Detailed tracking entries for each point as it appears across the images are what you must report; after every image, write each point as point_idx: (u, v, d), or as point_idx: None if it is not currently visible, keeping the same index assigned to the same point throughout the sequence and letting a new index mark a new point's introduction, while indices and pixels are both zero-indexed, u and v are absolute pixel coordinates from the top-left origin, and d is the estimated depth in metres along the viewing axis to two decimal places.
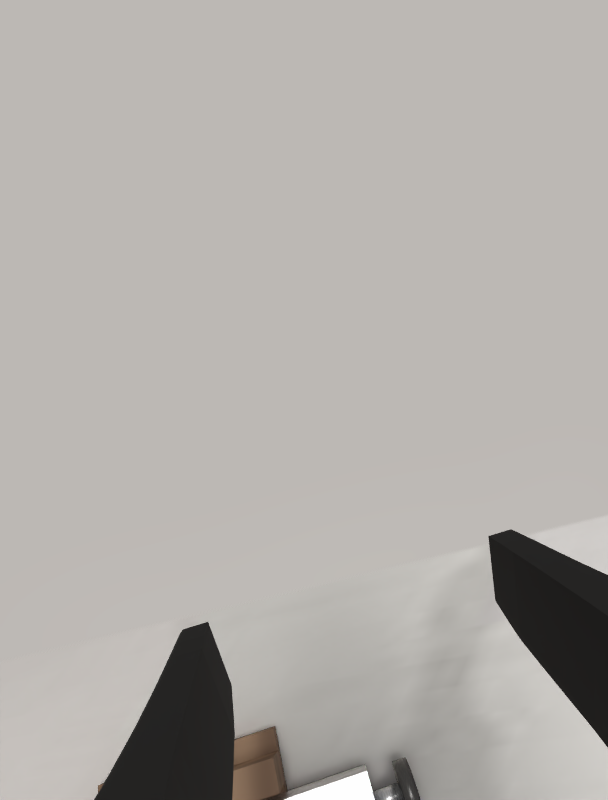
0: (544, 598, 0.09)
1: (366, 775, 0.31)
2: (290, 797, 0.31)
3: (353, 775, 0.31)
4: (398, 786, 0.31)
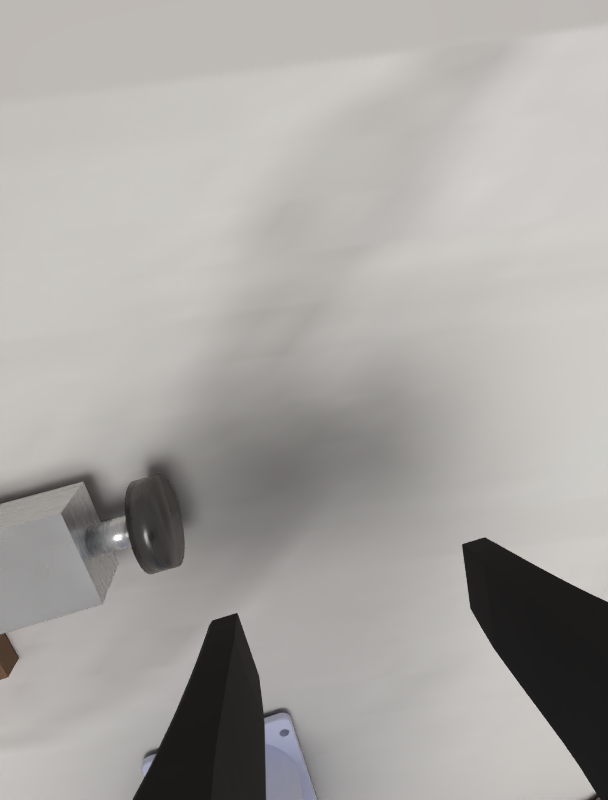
0: (513, 609, 0.09)
1: (59, 519, 0.15)
2: None
3: (32, 519, 0.15)
4: None
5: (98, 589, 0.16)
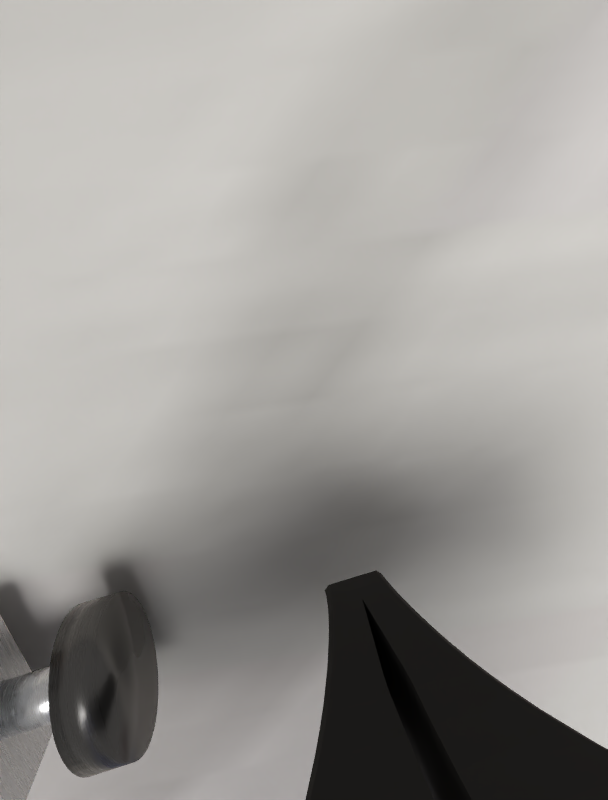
0: (383, 650, 0.09)
1: None
2: None
3: None
4: None
5: (11, 796, 0.10)
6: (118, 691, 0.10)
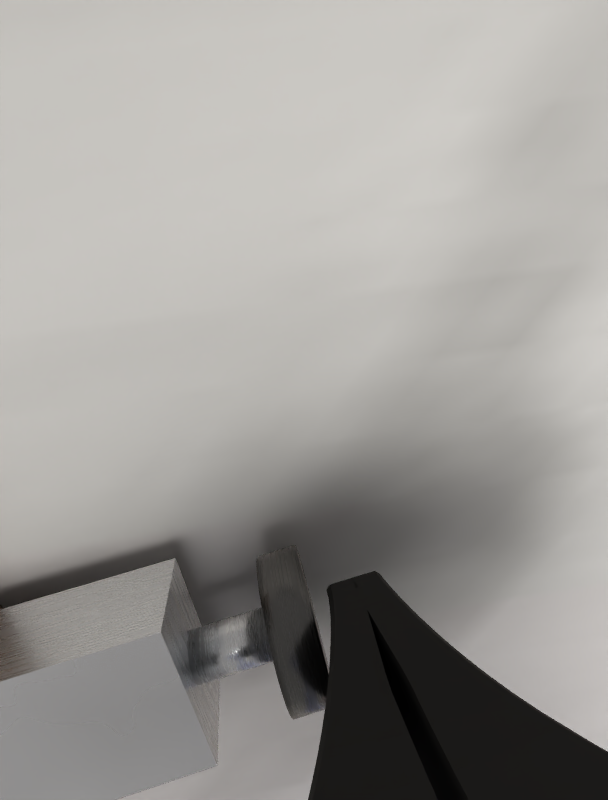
0: (381, 651, 0.09)
1: (158, 643, 0.09)
2: None
3: (111, 643, 0.09)
4: None
5: (210, 741, 0.10)
6: (318, 636, 0.10)
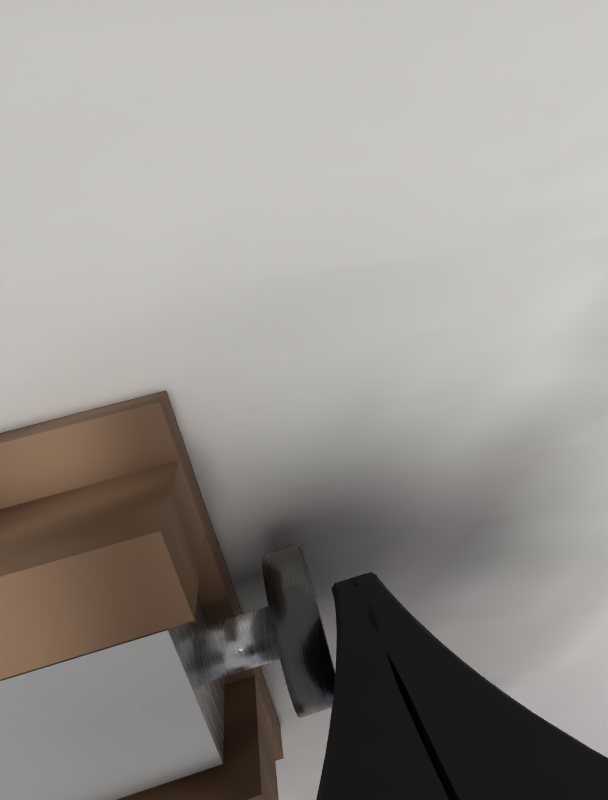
0: None
1: (165, 641, 0.09)
2: None
3: None
4: None
5: (215, 739, 0.10)
6: (324, 634, 0.10)
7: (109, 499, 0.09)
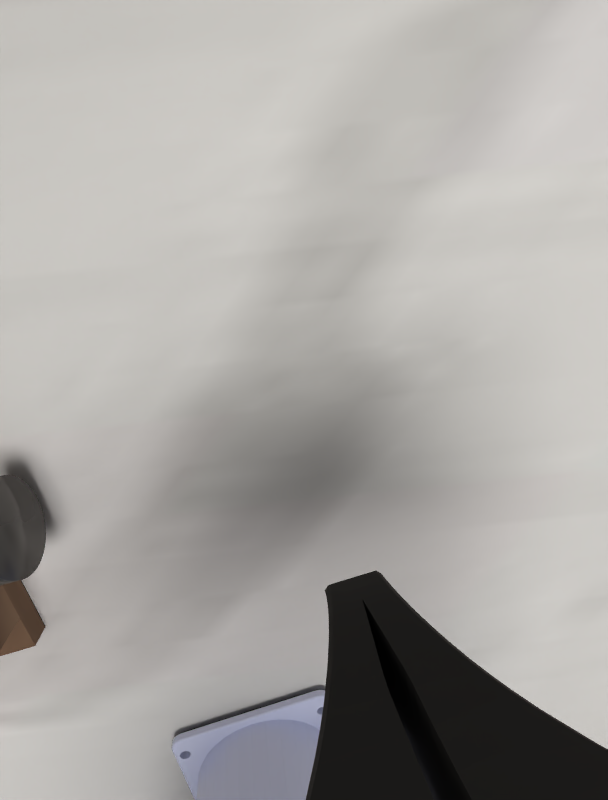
0: (383, 650, 0.09)
1: None
2: None
3: None
4: None
5: None
6: None
7: None
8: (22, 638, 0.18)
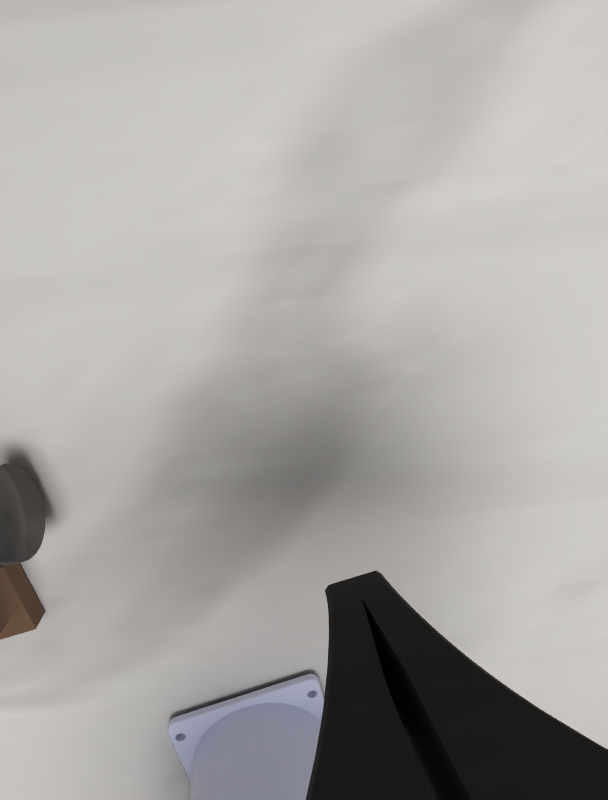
0: (383, 650, 0.09)
1: None
2: None
3: None
4: None
5: None
6: (1, 516, 0.15)
7: None
8: (23, 621, 0.19)
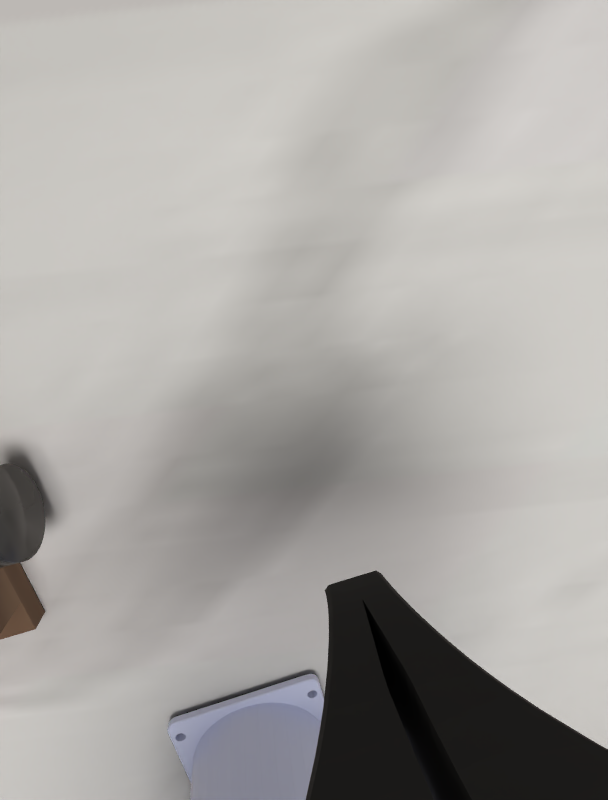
0: (383, 650, 0.09)
1: None
2: None
3: None
4: None
5: None
6: (1, 516, 0.15)
7: None
8: (23, 621, 0.19)
